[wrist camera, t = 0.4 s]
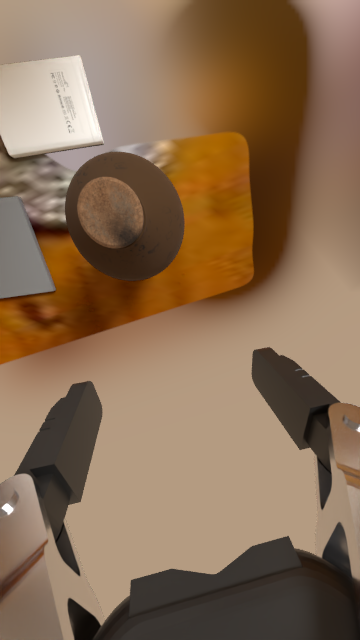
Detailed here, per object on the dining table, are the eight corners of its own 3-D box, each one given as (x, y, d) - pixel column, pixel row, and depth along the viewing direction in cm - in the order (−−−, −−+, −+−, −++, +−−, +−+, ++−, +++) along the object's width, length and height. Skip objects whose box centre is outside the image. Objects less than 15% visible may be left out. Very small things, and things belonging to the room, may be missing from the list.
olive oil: (100, 252, 33) (-9, 291, 10) (108, 181, 29) (-32, -11, 6) (161, 268, 35) (183, 328, 13) (176, 204, 32) (246, 127, 9)
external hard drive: (-19, 77, 24) (83, 63, 24) (16, 159, 27) (104, 145, 28) (-30, 66, 22) (79, 52, 23) (8, 155, 26) (102, 140, 26)
